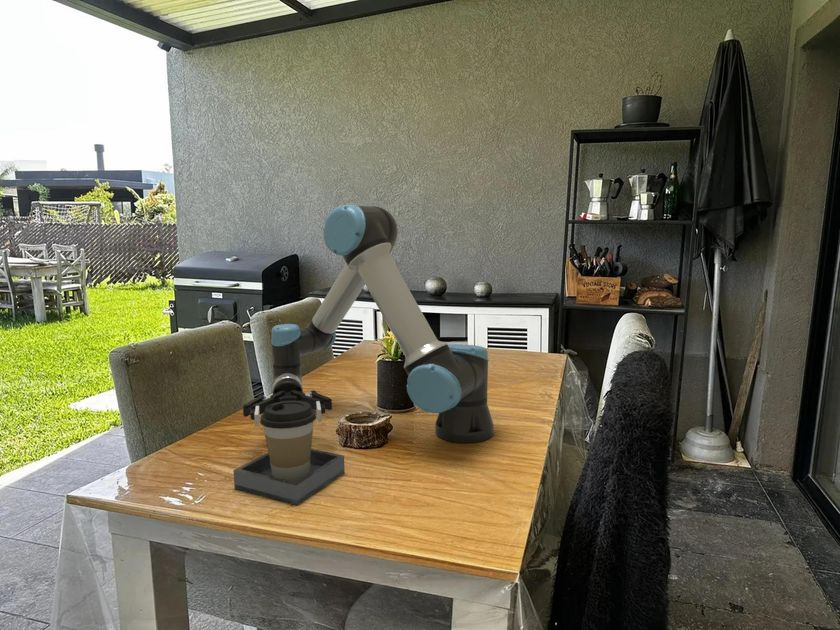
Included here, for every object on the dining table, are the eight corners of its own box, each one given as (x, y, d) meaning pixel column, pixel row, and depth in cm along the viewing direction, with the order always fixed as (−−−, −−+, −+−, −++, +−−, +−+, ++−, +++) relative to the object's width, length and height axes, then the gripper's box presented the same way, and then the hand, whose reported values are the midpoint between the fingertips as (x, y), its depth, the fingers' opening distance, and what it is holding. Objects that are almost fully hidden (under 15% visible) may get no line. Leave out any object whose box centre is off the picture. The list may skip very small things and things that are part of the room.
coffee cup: (272, 464, 123) (268, 398, 120) (323, 464, 122) (321, 398, 120) (255, 488, 111) (251, 415, 109) (311, 488, 111) (309, 415, 109)
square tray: (344, 473, 120) (344, 455, 120) (296, 505, 106) (296, 485, 106) (286, 460, 127) (285, 443, 127) (234, 488, 113) (233, 470, 113)
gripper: (337, 401, 147) (345, 429, 126) (237, 409, 141) (230, 439, 120) (336, 374, 146) (344, 397, 125) (236, 380, 140) (228, 406, 119)
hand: (288, 418), depth 123 cm, fingers open, 13 cm apart
